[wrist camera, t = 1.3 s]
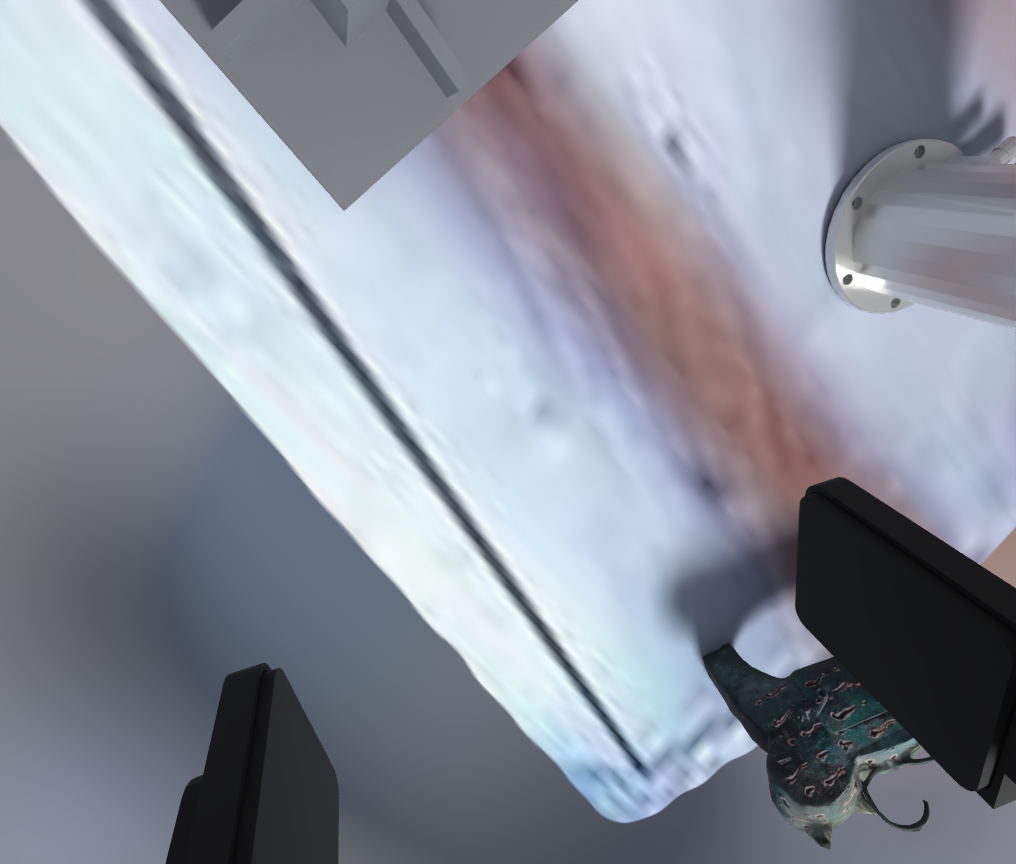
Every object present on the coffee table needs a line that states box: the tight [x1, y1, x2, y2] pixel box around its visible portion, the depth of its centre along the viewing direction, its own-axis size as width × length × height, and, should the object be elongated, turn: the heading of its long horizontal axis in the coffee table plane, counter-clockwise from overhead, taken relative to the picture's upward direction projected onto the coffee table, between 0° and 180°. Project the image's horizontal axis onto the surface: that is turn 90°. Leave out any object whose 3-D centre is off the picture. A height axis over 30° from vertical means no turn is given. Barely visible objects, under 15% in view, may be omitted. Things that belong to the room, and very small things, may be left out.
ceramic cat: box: [703, 643, 935, 850], centre depth 54 cm, size 20×6×20 cm, turn 112°
